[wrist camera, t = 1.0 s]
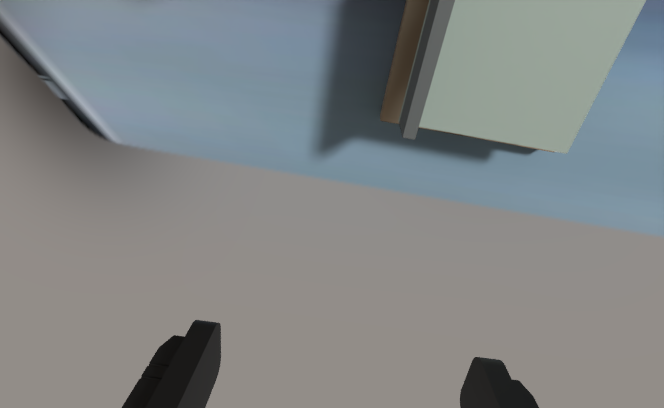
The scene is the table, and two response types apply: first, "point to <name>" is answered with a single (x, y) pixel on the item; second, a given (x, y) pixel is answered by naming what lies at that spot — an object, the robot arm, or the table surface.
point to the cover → (513, 67)
